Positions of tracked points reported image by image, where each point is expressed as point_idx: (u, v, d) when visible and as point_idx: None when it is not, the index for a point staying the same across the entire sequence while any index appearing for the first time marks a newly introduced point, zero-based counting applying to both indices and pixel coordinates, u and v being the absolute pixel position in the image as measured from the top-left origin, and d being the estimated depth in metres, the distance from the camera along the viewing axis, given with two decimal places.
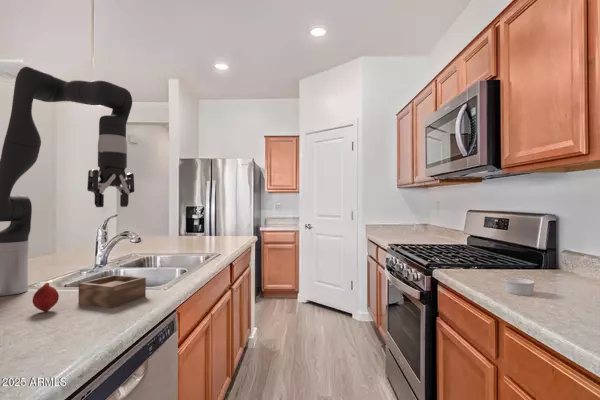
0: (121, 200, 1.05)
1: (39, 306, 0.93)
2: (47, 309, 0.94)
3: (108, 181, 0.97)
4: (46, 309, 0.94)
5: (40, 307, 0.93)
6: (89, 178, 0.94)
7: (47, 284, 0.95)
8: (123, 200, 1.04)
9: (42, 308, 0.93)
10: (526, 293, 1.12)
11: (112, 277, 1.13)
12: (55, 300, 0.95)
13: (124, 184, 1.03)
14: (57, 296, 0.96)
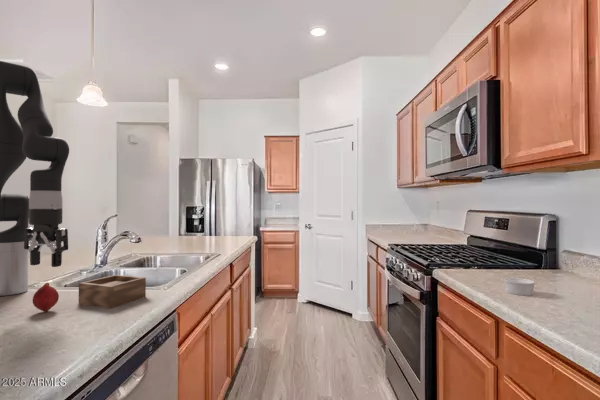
0: (33, 258, 0.96)
1: (39, 306, 0.93)
2: (47, 309, 0.94)
3: None
4: (46, 309, 0.94)
5: (40, 307, 0.93)
6: (61, 237, 0.92)
7: (47, 284, 0.95)
8: (36, 258, 0.96)
9: (42, 308, 0.93)
10: (526, 293, 1.12)
11: (112, 277, 1.13)
12: (55, 300, 0.95)
13: None
14: (57, 296, 0.96)
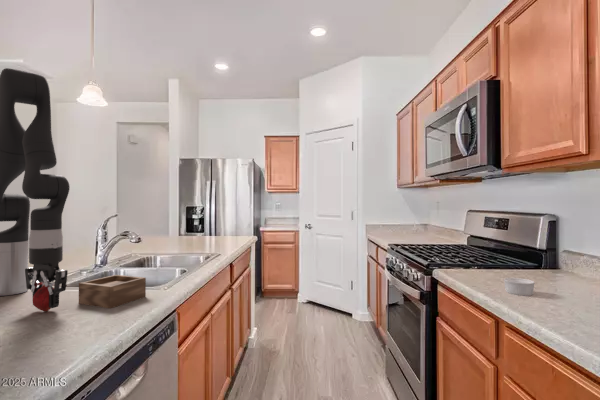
0: None
1: (39, 306, 0.93)
2: (47, 309, 0.94)
3: None
4: (46, 309, 0.94)
5: (40, 307, 0.93)
6: (60, 280, 0.92)
7: None
8: None
9: (42, 308, 0.93)
10: (526, 293, 1.12)
11: (113, 277, 1.13)
12: None
13: None
14: None
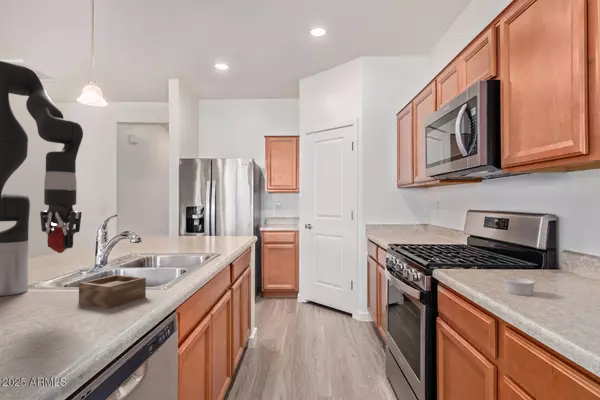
0: None
1: (54, 246, 0.95)
2: (61, 250, 0.97)
3: None
4: (60, 250, 0.96)
5: (55, 247, 0.95)
6: (74, 220, 0.94)
7: None
8: None
9: (57, 248, 0.95)
10: (526, 293, 1.12)
11: (113, 277, 1.13)
12: None
13: None
14: None
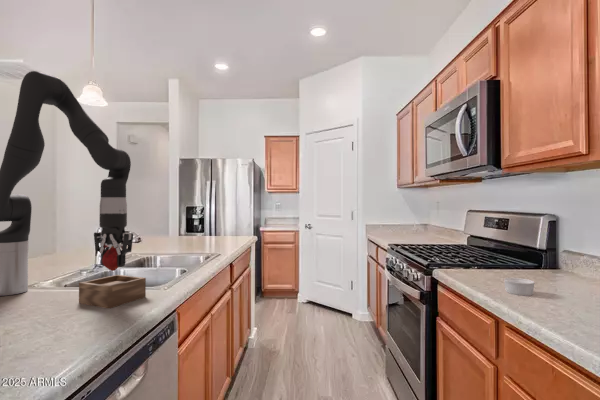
0: None
1: (109, 265, 1.04)
2: (114, 268, 1.06)
3: None
4: (114, 268, 1.06)
5: (109, 266, 1.04)
6: (127, 242, 1.04)
7: None
8: None
9: (111, 267, 1.05)
10: (526, 293, 1.12)
11: (114, 277, 1.13)
12: None
13: None
14: None
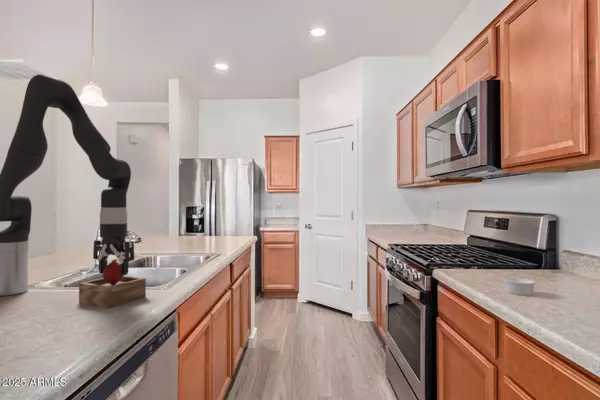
0: (101, 267, 1.07)
1: (109, 279, 1.04)
2: (115, 283, 1.06)
3: None
4: (114, 283, 1.06)
5: (110, 280, 1.04)
6: (129, 249, 1.04)
7: (115, 260, 1.07)
8: (103, 267, 1.08)
9: (111, 281, 1.05)
10: (526, 293, 1.12)
11: None
12: (122, 275, 1.07)
13: None
14: None
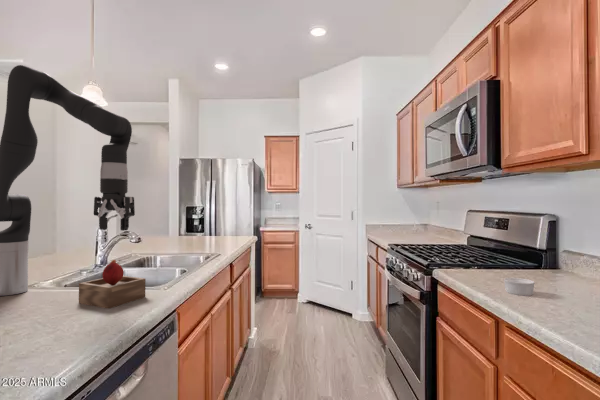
0: (102, 223, 1.07)
1: (109, 280, 1.04)
2: (115, 283, 1.06)
3: None
4: (114, 283, 1.06)
5: (109, 281, 1.04)
6: (129, 204, 1.04)
7: (114, 261, 1.07)
8: (104, 223, 1.08)
9: (111, 282, 1.05)
10: (526, 293, 1.12)
11: None
12: (121, 275, 1.06)
13: None
14: (123, 272, 1.07)
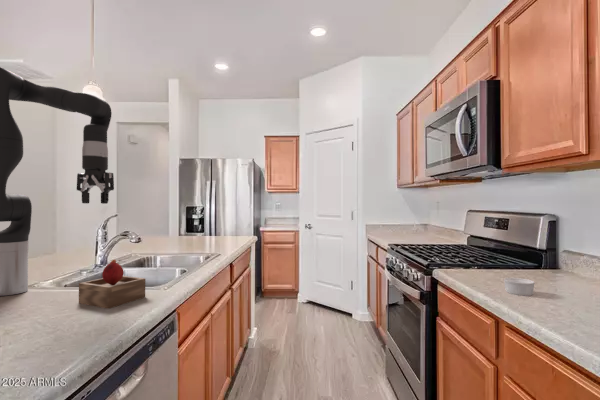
0: (84, 197, 1.17)
1: (109, 279, 1.04)
2: (114, 283, 1.06)
3: None
4: (114, 283, 1.06)
5: (109, 281, 1.04)
6: (108, 179, 1.13)
7: (114, 261, 1.07)
8: (86, 197, 1.18)
9: (111, 282, 1.05)
10: (526, 293, 1.12)
11: None
12: (121, 275, 1.07)
13: None
14: (122, 272, 1.07)
